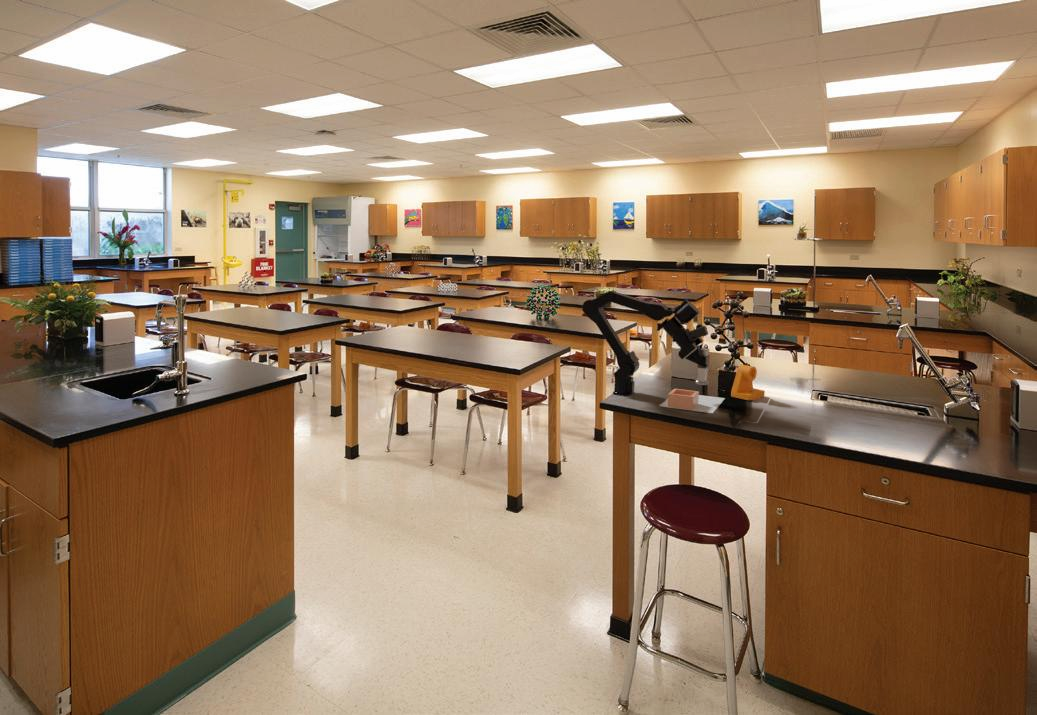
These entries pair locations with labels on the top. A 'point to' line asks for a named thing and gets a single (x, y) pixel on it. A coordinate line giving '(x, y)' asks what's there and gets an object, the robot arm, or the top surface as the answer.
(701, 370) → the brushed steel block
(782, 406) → the top surface
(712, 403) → the bench mat
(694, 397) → the holder
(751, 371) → the bracket
